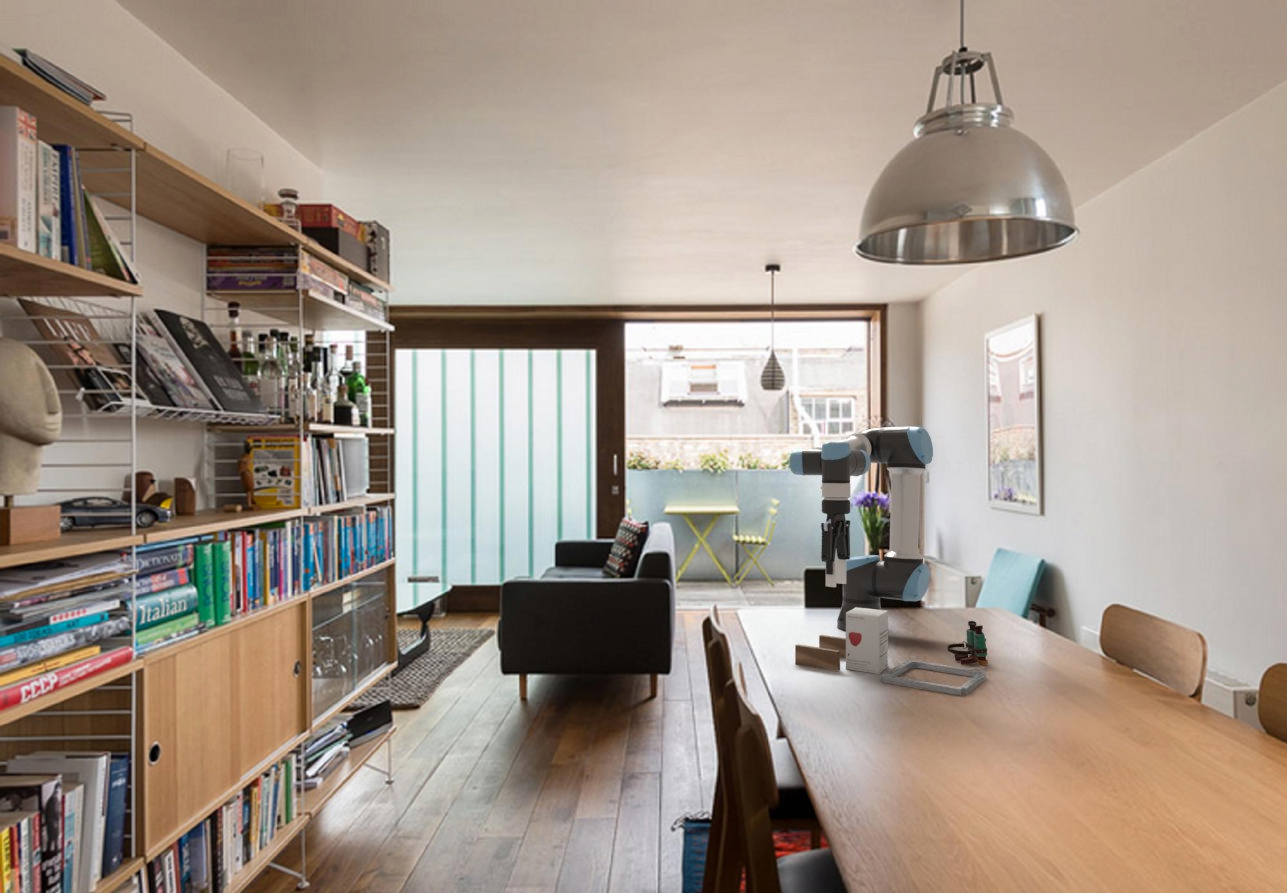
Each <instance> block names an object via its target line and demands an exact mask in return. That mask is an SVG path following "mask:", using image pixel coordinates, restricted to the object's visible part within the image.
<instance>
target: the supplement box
mask: <svg viewBox="0 0 1287 893" xmlns="http://www.w3.org/2000/svg"><path fill="white" fill-rule="evenodd" d="M845 638H846V658H845V670H850V671H857V672H861V673H862V672H863V673H870V674H876V675H877V674H878V675H880V674H881V673H882V672H883V671H885V670H886V668H888V667H889V656H888V655H889V653H888V652H889V645H888V644H889V610H885V609H882V610H876V609H867V608H858V607H855V608H854V609H852V610H850V611H848V612H846V630H845Z"/></svg>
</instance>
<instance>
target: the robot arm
mask: <svg viewBox="0 0 1287 893" xmlns="http://www.w3.org/2000/svg"><path fill="white" fill-rule="evenodd" d="M933 447H934V446H933V442H932V438H931V436H930V433H929V432H928V431H927V429H926V428H924V427H922V426H912V425H911V426H891V427H890V426H889V427H888V426H887V427H885V426H880V427H873V428H869V429H865V430H862V431H858V432H855V433H852V434H849V435H847V437H846V438H845V439H841V440H838V441H825V442H823V443H822V445H820V446H816V447H812V448H801V449H800V448H799V449H794V450H792V451H791V453H790V456H789V459H788V460H789V461H788V462H789V469H790V472H792V474H794V475H795V476H796V475H797V476H821V486H820V490H821V497H822V498H823V499H822V500H821V513H823V515H824V514H826V520H825V522H821V523H820V524H821V525H820V527H821V528H820V529H821V556H820V558H821V562H824V563H825V587H829V588H837V584H839V585H840V584H842V604H841V608H840V611H839V614H838V616H837V621H836V622H837V623H836V627H837V628H838V629H840V630H843V631H846V612H848V611H850V610H852V609H854V608H855V607H858V608H867V609H876V610H883V609H882V607H881V599H888V600H889V599H890V600H899V601H904V602H918V601H921V600H922V599H923V598H924V597H925V596H926V593H927V591H928V588H929V585H930V578H931V571H930V567H929V565H927V564H926V563H924V556H922V555H921V553H920V552H919V536H920V535H919V534H920V533H919V532H920V498H921V496H920V492H921V475H922V474H923V473H924V472H925V471H926V465H929V464H930V463H932V461H933V457H934V448H933ZM871 464H886V470H887V471H889V472H890V474H891V482H890V483H891V484H890V485H891V487H890V488H891V489H890V523H889V524H890V525H889V550H888V551H887V552H886V553H885V554H884V558H883V560H881V556H880V555H878V554H877V555H875V554H869V555H858V556H857V555H856V556H852V557H851V536H850V535H851V534H850V533H851V532H850V531H851V530H850V528H851V520H849V519H848V520H847V519H846V515H848V514H850V513H851V501H850V498H851V477H859V476H863V475H865V474H866V473H867V472H868V471H869V470H870V467H871ZM836 556H837V558H836Z"/></svg>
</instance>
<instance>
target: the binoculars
mask: <svg viewBox="0 0 1287 893" xmlns="http://www.w3.org/2000/svg"><path fill="white" fill-rule="evenodd" d="M967 625H968V626H969V628H968V629H966V641H962V643H961V642H960V643H951V644H948V645H947V646H946V647H947V652H949V653H952V654H954V655H953V656H954V660H955V661H957V662H960V665H968V664H973V663H976V664H979V665H982V666H983V665H989V661H988V659H987V656H988V648H987V645H986V644H987V638H986V637H985V633H984V632H983V625H977V622H976V621H974V620H969V621H967ZM953 648H962V649H963V650H956V649H953ZM966 649H967V650H966Z"/></svg>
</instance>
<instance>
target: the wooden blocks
mask: <svg viewBox="0 0 1287 893" xmlns="http://www.w3.org/2000/svg"><path fill="white" fill-rule="evenodd" d="M818 640H819V641H818V642H819V644H818V646H812V645H806V644H799V643H798V644H795V646H794V647H795V653H794V655H795V656H794V657H795V659H794V660H795V665H799V666H805V667H811V668H817V669H822V670H829V671H833V672H839V671H840V670H841V658H845V659H846V637H839V636H832V635H826V634H820V635H819V636H818Z"/></svg>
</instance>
